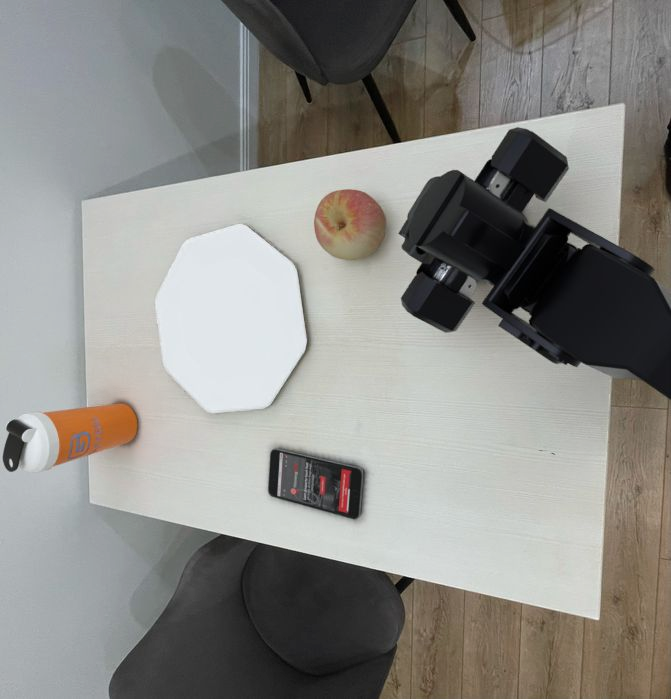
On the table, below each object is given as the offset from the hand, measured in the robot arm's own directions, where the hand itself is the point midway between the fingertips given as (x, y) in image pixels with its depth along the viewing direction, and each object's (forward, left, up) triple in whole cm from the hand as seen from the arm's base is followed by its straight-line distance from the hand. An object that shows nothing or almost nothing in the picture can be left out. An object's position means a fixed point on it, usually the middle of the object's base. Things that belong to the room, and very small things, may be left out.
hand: (448, 216), depth 57 cm
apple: (+14, +2, -10) cm, 17 cm away
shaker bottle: (+52, +42, -10) cm, 68 cm away
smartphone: (+13, +38, -9) cm, 42 cm away
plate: (+33, +19, -10) cm, 39 cm away
